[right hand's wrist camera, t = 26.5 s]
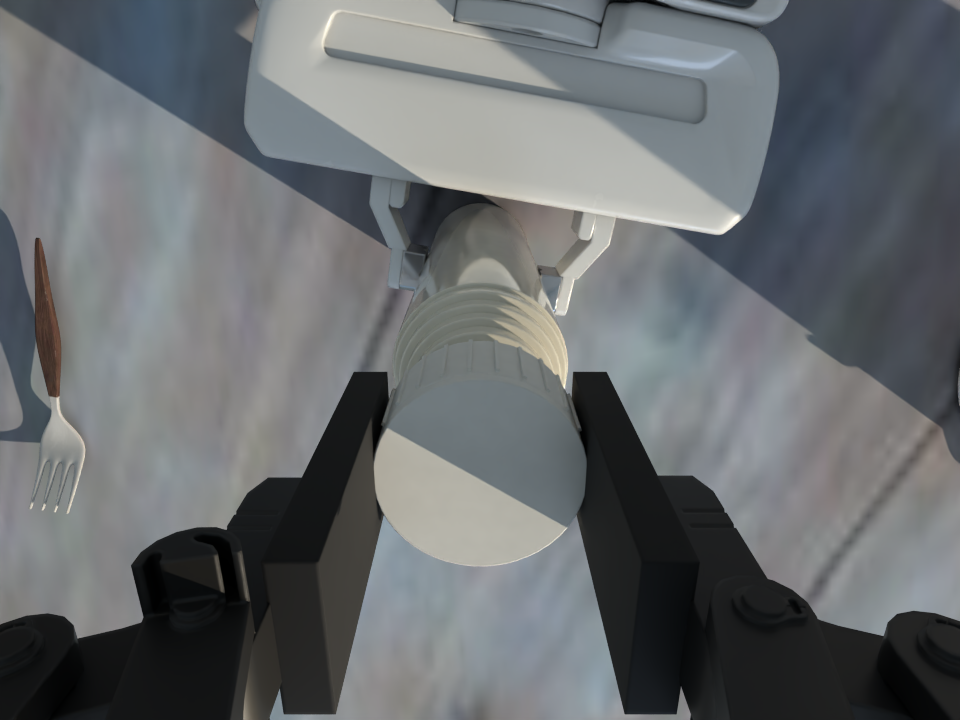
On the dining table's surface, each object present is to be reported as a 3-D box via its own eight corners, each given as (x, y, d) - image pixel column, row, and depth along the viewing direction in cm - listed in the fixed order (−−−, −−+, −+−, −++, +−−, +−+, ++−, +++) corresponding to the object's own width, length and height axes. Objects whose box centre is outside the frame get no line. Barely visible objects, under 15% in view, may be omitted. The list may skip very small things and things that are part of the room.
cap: (371, 345, 14) (351, 387, 12) (571, 328, 14) (587, 366, 12) (399, 513, 16) (386, 576, 13) (579, 499, 15) (594, 560, 13)
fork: (69, 240, 33) (45, 247, 31) (90, 495, 39) (70, 514, 37) (18, 232, 33) (-9, 239, 31) (47, 490, 39) (25, 509, 37)
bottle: (474, 182, 32) (464, 296, 12) (546, 245, 34) (650, 447, 13) (414, 256, 34) (312, 472, 13) (485, 314, 35) (493, 595, 14)
